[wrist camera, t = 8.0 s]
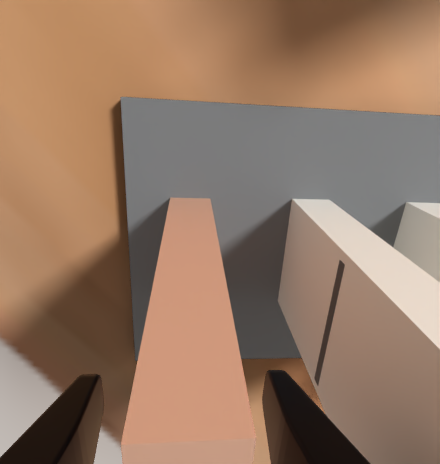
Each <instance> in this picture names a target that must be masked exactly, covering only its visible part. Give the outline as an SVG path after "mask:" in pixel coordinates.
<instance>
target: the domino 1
mask: <svg viewBox="0 0 440 464" xmlns="http://www.w3.org/2000/svg"><path fill="white" fill-rule="evenodd" d="M255 444H256V434H255V429H254V424H253V419H252V413H251V408H250V403H249V398H248V393H247V387H246V382H245V377H244V372H243V366H242V361H241V356H240V351H239V346H238V340H237V335H236V330H235V325H234V319H233V314H232V309H231V304H230V299H229V293H228V288H227V283H226V278H225V272H224V267H223V262H222V257H221V252H220V246H219V241H218V236H217V231H216V225H215V220H214V215H213V210H212V205H211V199H209V198H170V201H169V206H168V211H167V216H166V221H165V226H164V231H163V236H162V241H161V246H160V251H159V256H158V261H157V266H156V271H155V276H154V281H153V286H152V291H151V296H150V301H149V306H148V311H147V316H146V321H145V326H144V331H143V336H142V341H141V346H140V351H139V356H138V361H137V366H136V371H135V376H134V381H133V386H132V391H131V396H130V401H129V406H128V411H127V416H126V421H125V426H124V431H123V436H122V441H121V451H122V461H123V464H253V459H254V451H255Z"/></svg>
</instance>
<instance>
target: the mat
mask: <svg viewBox="0 0 440 464" xmlns="http://www.w3.org/2000/svg"><path fill="white" fill-rule="evenodd" d="M121 113H122V131H123V149H124V167H125V185H126V203H127V221H128V239H129V257H130V275H131V293H132V311H133V329H134V347H135V361H138V356H139V351H140V346H141V341H142V336H143V331H144V326H145V321H146V316H147V311H148V306H149V301H150V296H151V291H152V286H153V281H154V276H155V271H156V266H157V261H158V256H159V251H160V246H161V241H162V236H163V231H164V226H165V221H166V216H167V211H168V206H169V201H170V198H209V199H211V205H212V210H213V215H214V220H215V225H216V231H217V236H218V241H219V246H220V252H221V257H222V262H223V267H224V272H225V278H226V283H227V288H228V293H229V299H230V304H231V309H232V314H233V319H234V325H235V330H236V335H237V340H238V346H239V351H240V356H241V359H267V358H302V357H301V355H300V352H299V350H298V348H297V345H296V343H295V340H294V338H293V336H292V333H291V331H290V329H289V326H288V324H287V322H286V319H285V317H284V315H283V312H282V310H281V307H280V305H279V303H278V296H279V288H280V281H281V274H282V267H283V260H284V252H285V245H286V238H287V231H288V224H289V217H290V209H291V202H292V199H320V200H330V201H332V202H333V203H334V204H336V205H337V206H338V207H340V208H341V209H342V210H344V211H345V212H346V213H348V214H349V215H350V216H352V217H353V218H354V219H356V220H357V221H358V222H360V223H361V224H362V225H364V226H365V227H366V228H368V229H369V230H370V231H372V232H373V233H374V234H376V235H377V236H378V237H380V238H381V239H382V240H384V241H385V242H386V243H388V244H389V245H390V246H392V247H394V243H395V240H396V236H397V233H398V229H399V226H400V222H401V219H402V215H403V212H404V208H405V205H406V202H417V203H440V116H437V115H420V114H403V113H386V112H369V111H352V110H335V109H318V108H302V107H285V106H268V105H251V104H234V103H217V102H200V101H183V100H167V99H150V98H133V97H121Z"/></svg>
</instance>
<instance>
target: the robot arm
mask: <svg viewBox="0 0 440 464" xmlns="http://www.w3.org/2000/svg"><path fill="white" fill-rule="evenodd" d="M262 403H263V412H264V419H265V425H266V432H267V439H268V446H269V453H270V460H271V464H370V462H369V461H368V460H367V459H366V458H365V457H364V456H363V455H362V454H361V453H360V452H359V451H358V449H357V448H356V447H355V446H354V445H353V444H352V443H351V442H350V441H349V440H348V439H347V437H346V436H345V435H344V434H343V433H342V432H341V431H340V430H339V429H338V428H337V427H336V426H335V424H334V423H333V422H332V421H331V420H330V419H329V418H328V417H327V416H326V415H325V414H324V413H323V411H322V410H321V409H320V408H319V407H318V406H317V405H316V404H315V403H314V402H313V401H312V399H311V398H310V397H309V396H308V395H307V394H306V393H305V392H304V391H303V390H302V389H301V388H300V386H299V385H298V384H297V383H296V382H295V381H294V380H293V379H292V378H291V377H290V376H289V374H288V373H287V372H285V371H284V370H269V371H267V373H266V376H265V382H264V389H263V397H262ZM103 410H104V397H103V388H102V380H101V377H100V375H98V374H89V375H81V376H79V377H78V378H77V379H76V380H75V381H74V382H73V383H72V384H71V385H70V386H69V387H68V388H67V389H66V390H65V391H64V392H63V393H62V394H61V395H60V396H59V398H58V399H57V400H56V401H55V402H54V403H53V404H52V405H51V406H50V407H49V408H48V409H47V410H46V411H45V412H44V413H43V414H42V415H41V416H40V417H39V418H38V419H37V420H36V421H35V422H34V423H33V424H32V425H31V427H29V428H28V429H27V430H26V432H25V433H24V434H23V435H22V436H21V437H20V438H19V439H18V440H17V441H16V442H15V443H14V444H13V445H12V446H11V447H10V448H9V449H8V450H7V451H6V452H5V453H4V454H3V455H2V456H1V457H0V464H93V463H94V458H95V453H96V447H97V442H98V437H99V432H100V426H101V421H102V416H103Z"/></svg>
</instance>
